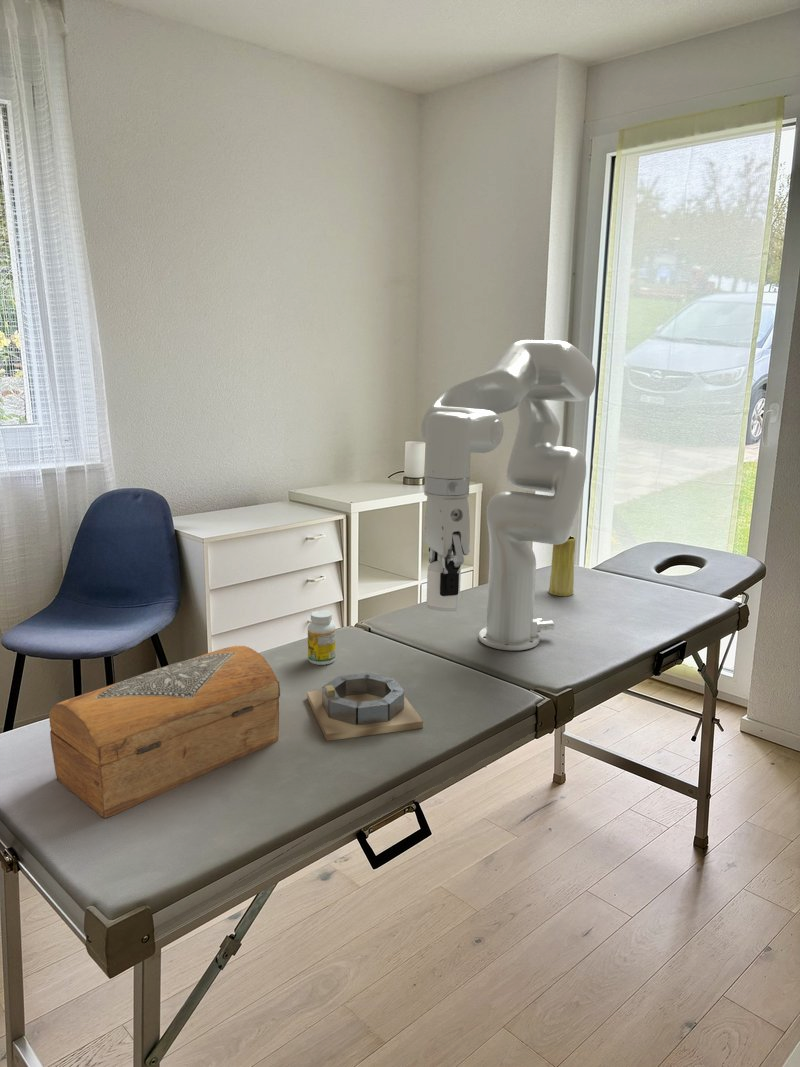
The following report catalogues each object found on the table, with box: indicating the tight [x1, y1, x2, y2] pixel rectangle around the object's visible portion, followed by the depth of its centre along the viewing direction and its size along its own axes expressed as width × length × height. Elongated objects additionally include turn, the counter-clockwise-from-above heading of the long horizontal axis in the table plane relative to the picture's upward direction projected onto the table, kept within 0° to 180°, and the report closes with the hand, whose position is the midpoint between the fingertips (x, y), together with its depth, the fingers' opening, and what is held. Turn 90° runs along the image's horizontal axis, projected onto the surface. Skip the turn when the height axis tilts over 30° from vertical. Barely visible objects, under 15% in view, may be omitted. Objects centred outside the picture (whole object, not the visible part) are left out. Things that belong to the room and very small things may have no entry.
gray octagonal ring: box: [321, 672, 405, 725], centre depth 138 cm, size 13×13×4 cm
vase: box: [548, 535, 576, 597], centre depth 202 cm, size 6×6×14 cm
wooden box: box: [48, 645, 281, 819], centre depth 122 cm, size 30×16×14 cm, turn 137°
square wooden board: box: [306, 689, 424, 742], centre depth 139 cm, size 16×16×1 cm
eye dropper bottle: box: [426, 551, 462, 612], centre depth 141 cm, size 4×6×12 cm
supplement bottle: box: [307, 610, 337, 666], centre depth 159 cm, size 5×5×10 cm
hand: (443, 589), depth 142 cm, fingers closed on eye dropper bottle, 4 cm apart
